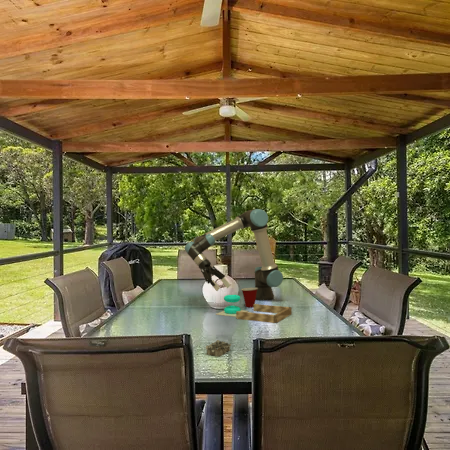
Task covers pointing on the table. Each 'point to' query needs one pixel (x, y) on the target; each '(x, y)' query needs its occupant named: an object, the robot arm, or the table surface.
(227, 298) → the donuts
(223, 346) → the rough brown lump
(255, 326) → the table surface
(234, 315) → the beige mat
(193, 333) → the table surface
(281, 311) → the wooden u-shaped frame
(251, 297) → the plastic cup
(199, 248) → the robot arm
